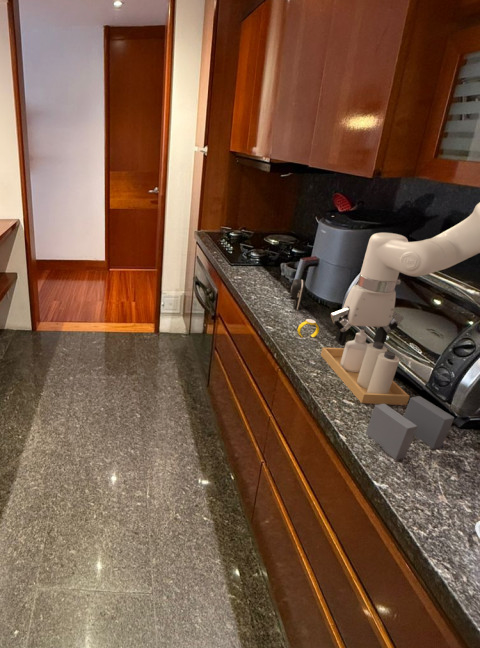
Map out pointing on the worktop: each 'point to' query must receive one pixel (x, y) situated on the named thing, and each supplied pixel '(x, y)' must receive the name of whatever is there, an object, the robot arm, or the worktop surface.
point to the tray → (350, 379)
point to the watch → (311, 322)
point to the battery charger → (297, 292)
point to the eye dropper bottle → (354, 353)
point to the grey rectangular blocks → (408, 426)
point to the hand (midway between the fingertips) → (358, 343)
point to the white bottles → (377, 369)
